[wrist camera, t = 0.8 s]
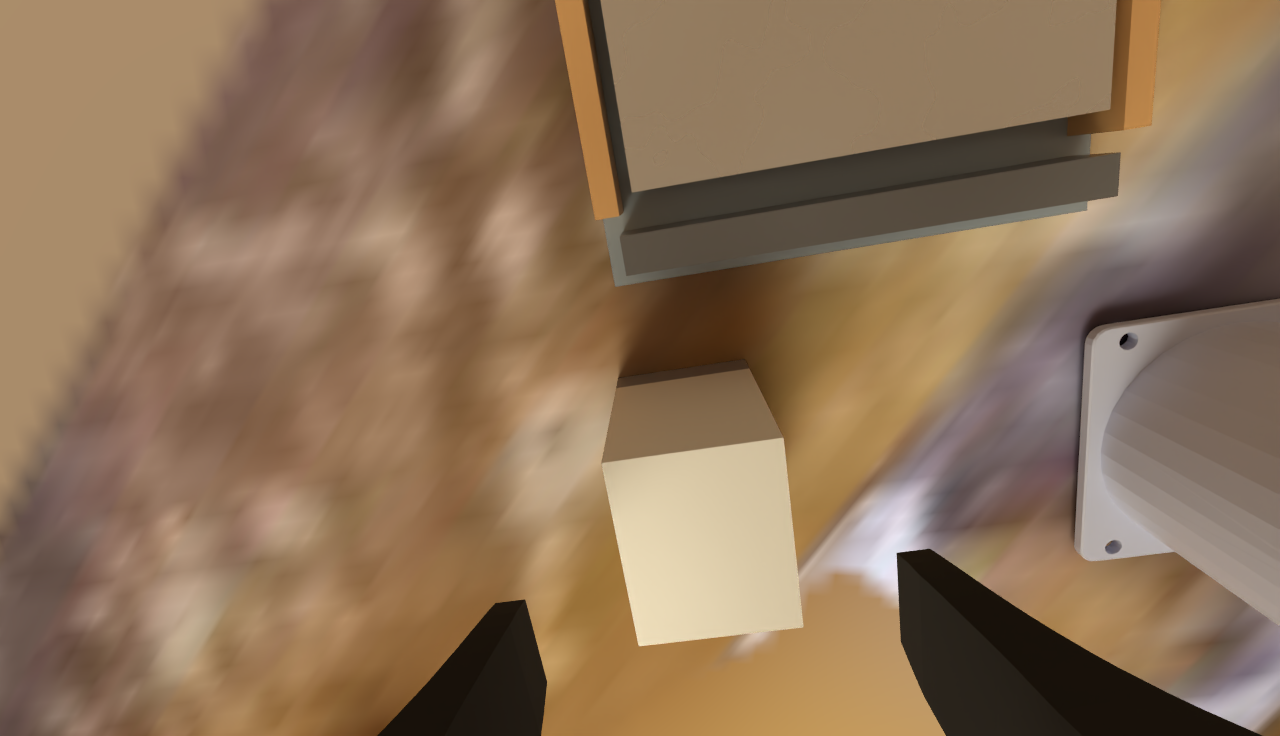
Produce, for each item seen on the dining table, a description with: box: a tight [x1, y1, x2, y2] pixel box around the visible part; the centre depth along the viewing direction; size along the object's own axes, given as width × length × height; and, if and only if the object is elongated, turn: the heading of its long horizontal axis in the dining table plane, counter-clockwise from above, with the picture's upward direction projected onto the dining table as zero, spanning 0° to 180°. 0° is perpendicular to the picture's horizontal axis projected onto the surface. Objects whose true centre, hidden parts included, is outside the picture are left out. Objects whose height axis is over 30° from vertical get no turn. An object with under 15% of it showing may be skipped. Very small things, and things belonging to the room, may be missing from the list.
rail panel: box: [555, 0, 1161, 287], centre depth 15 cm, size 13×11×3 cm
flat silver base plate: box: [600, 0, 1117, 192], centre depth 14 cm, size 11×6×1 cm, turn 99°
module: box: [601, 359, 803, 646], centre depth 17 cm, size 4×5×6 cm
